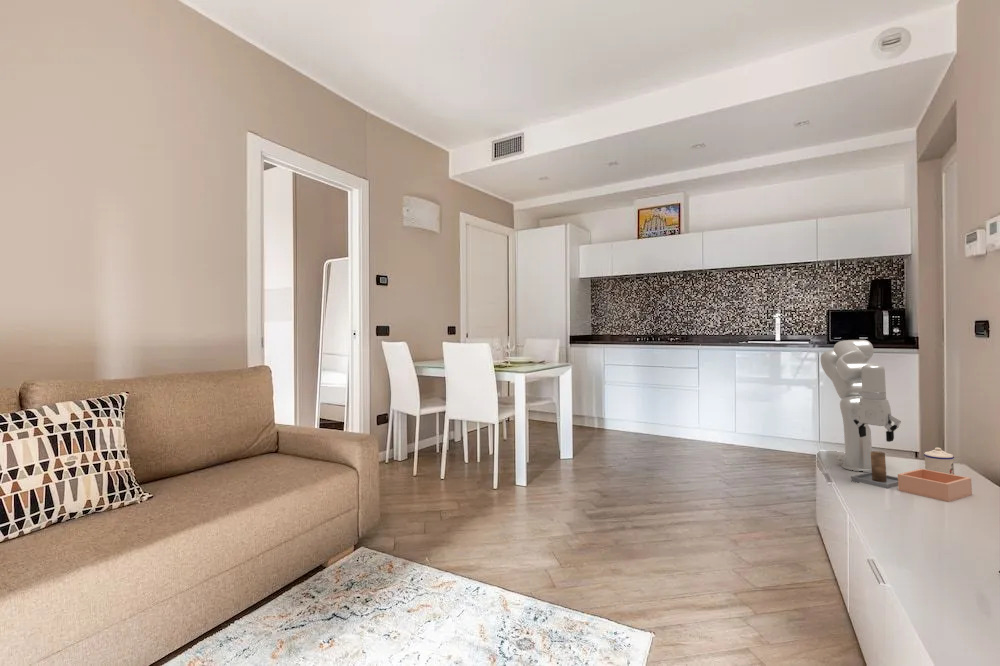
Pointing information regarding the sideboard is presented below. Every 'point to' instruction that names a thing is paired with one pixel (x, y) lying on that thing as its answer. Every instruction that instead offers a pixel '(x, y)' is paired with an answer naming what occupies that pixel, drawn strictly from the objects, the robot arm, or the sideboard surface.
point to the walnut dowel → (878, 466)
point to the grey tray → (867, 479)
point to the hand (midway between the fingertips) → (876, 438)
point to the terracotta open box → (935, 484)
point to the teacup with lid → (939, 461)
